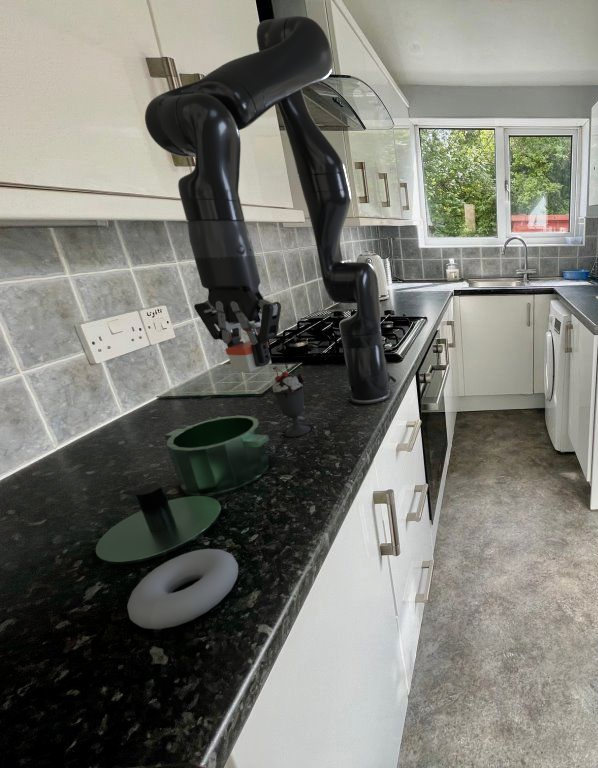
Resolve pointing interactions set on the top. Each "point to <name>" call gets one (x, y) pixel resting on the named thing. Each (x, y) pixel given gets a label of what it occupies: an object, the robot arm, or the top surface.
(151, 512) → the lid
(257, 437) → the pot
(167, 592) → the donut
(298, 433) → the sundae
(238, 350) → the block
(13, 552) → the top surface
